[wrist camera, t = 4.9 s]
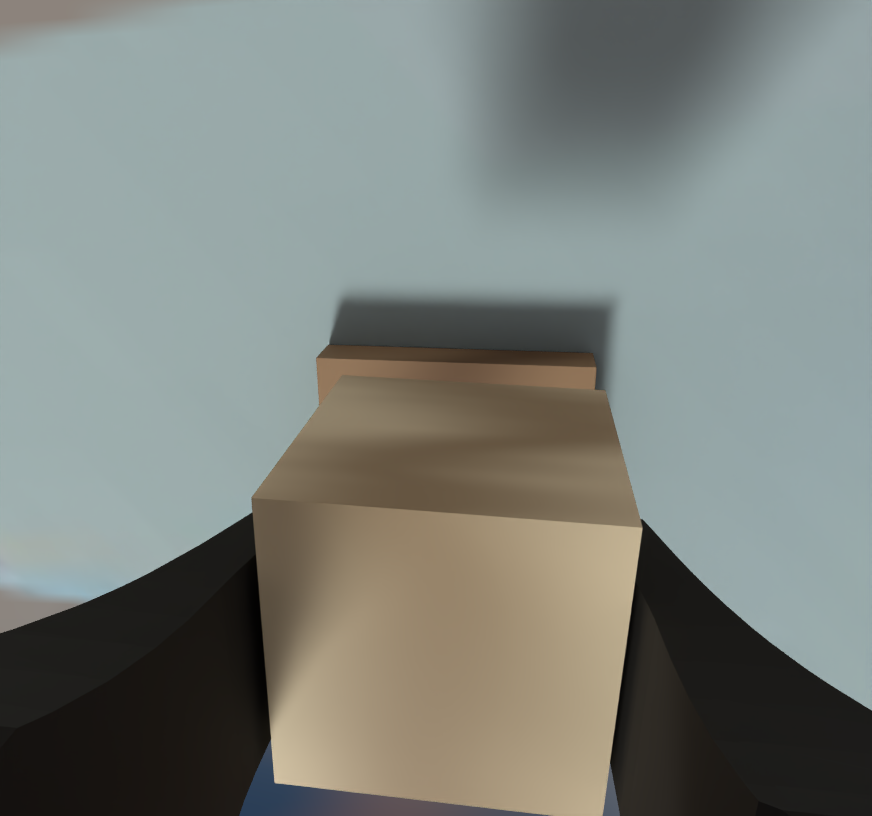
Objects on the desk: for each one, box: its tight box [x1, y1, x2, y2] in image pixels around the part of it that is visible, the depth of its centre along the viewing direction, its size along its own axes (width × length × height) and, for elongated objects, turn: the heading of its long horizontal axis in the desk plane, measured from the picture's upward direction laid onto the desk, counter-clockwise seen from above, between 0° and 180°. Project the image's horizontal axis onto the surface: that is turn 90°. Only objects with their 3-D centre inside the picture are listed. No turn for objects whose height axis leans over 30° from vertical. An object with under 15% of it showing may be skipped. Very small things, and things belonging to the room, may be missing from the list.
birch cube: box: [251, 375, 643, 816], centre depth 11 cm, size 4×4×4 cm
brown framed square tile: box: [316, 345, 596, 406], centre depth 20 cm, size 7×7×1 cm
